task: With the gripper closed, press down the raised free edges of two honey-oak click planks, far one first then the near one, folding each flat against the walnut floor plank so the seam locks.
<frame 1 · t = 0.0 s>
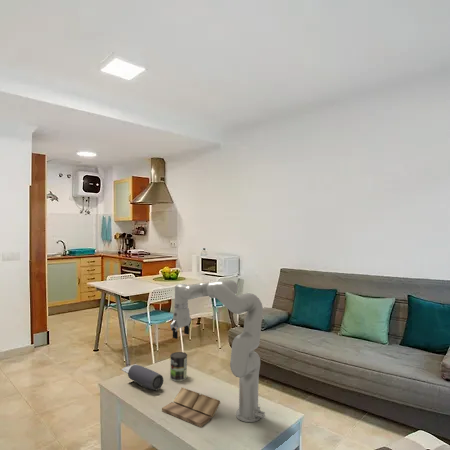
hand: (180, 336, 199), 31 cm above the table, fingers open, 9 cm apart
coffee can: (178, 377, 217), on the table
floor plank: (191, 411, 177), on the table
baseboard molding: (140, 376, 220), on the table
plank near: (206, 405, 176), point 3 cm above the table, hinge at 35.0°
bluetooth speaker: (145, 386, 205), on the table
plank far: (186, 398, 184), point 3 cm above the table, hinge at 35.0°
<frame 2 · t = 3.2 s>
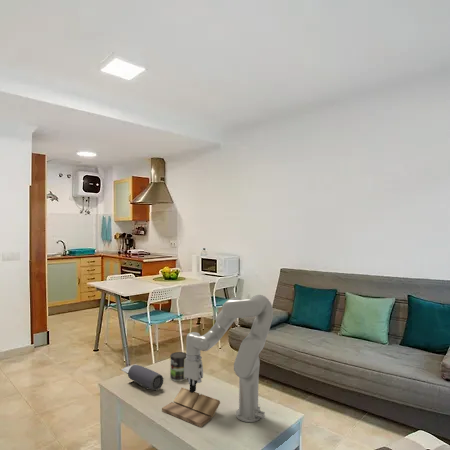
hand: (192, 391, 185), 6 cm above the table, fingers closed
plank far: (186, 398, 184), point 3 cm above the table, hinge at 34.8°, touching gripper
everything else where it was.
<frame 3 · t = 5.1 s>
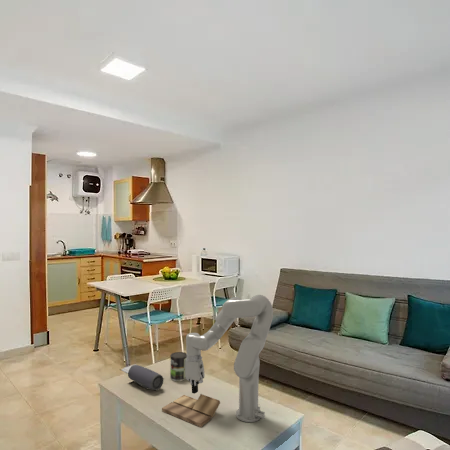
hand: (195, 392, 184), 6 cm above the table, fingers closed
plank far: (187, 402, 184), point 1 cm above the table, hinge at 1.3°
everything else where it was.
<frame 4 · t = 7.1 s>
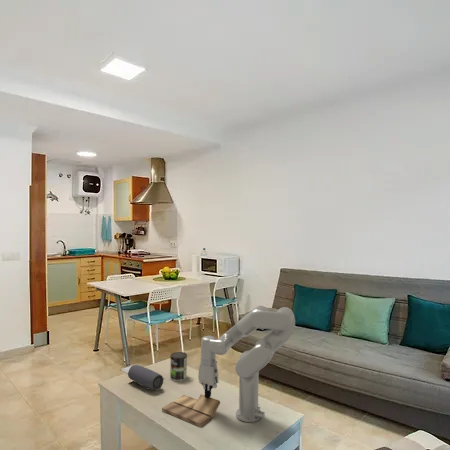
hand: (207, 396, 179), 6 cm above the table, fingers closed
plank near: (206, 405, 176), point 3 cm above the table, hinge at 33.8°, touching gripper
everything else where it was.
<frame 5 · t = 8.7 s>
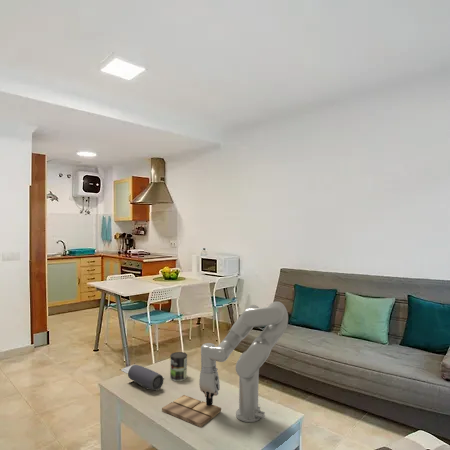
hand: (209, 404, 179), 3 cm above the table, fingers closed
plank near: (206, 409, 177), point 1 cm above the table, hinge at 3.3°
everything else where it was.
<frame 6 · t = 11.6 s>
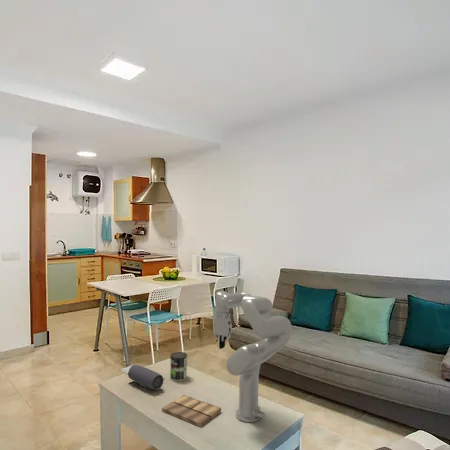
hand: (221, 347, 193), 27 cm above the table, fingers closed
nothing on the table moved.
at the end: plank far at +1° (first picture: +35°); plank near at +3° (first picture: +35°) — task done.
